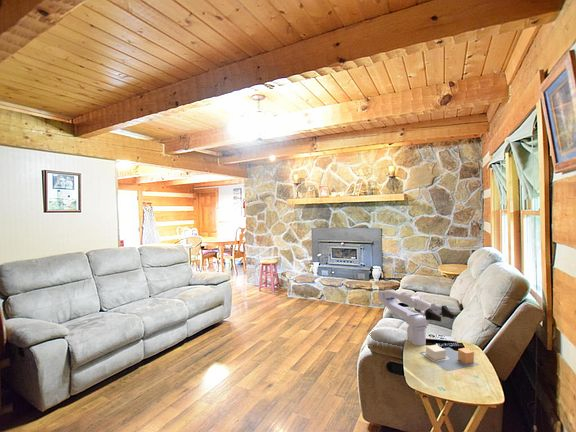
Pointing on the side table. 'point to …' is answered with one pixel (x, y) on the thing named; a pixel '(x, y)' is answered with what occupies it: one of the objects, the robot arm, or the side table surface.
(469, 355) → the orange block
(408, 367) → the side table surface
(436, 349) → the base block
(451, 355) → the board
